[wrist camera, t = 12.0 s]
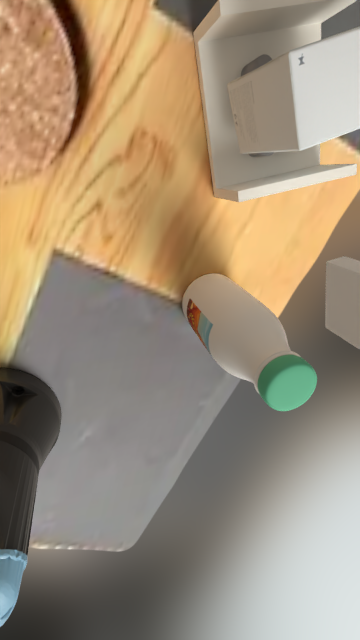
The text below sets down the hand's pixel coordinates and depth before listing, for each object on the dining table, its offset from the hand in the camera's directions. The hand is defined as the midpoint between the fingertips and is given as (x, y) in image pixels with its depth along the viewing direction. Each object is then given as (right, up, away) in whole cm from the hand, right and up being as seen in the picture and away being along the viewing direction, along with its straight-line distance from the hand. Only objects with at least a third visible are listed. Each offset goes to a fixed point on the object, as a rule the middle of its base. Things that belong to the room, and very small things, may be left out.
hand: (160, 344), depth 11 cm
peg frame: (+9, +23, +24) cm, 35 cm away
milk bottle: (+4, +3, +32) cm, 33 cm away
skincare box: (+11, +22, +21) cm, 32 cm away
